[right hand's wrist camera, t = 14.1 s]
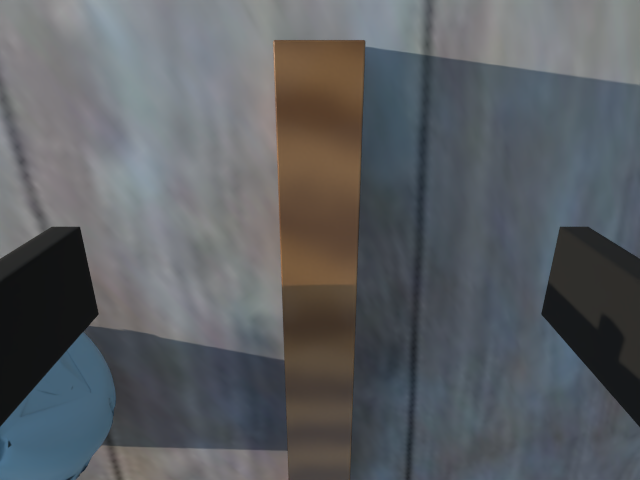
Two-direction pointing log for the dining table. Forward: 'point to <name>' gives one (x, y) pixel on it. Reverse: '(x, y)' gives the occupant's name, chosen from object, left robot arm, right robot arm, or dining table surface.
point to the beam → (319, 245)
